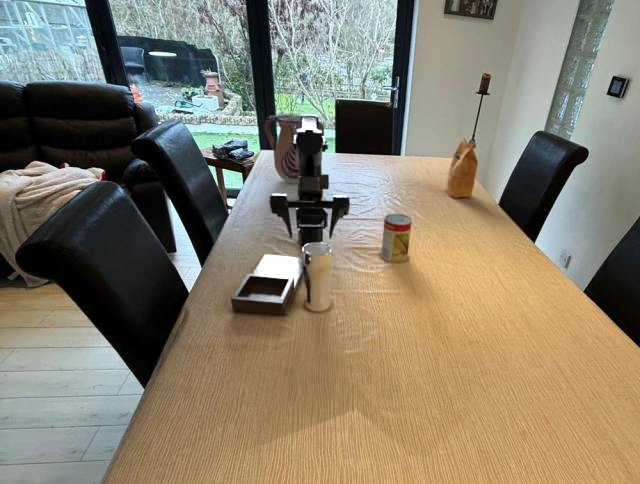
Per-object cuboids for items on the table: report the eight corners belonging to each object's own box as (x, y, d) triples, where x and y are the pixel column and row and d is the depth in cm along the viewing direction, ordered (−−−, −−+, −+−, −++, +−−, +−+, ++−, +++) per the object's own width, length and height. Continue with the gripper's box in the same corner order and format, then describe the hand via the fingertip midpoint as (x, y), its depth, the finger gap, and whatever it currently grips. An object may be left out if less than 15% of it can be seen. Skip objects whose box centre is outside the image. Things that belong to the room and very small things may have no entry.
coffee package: (463, 189, 185) (473, 137, 173) (473, 199, 175) (484, 145, 163) (442, 189, 183) (450, 136, 171) (451, 199, 173) (460, 144, 161)
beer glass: (337, 300, 102) (338, 245, 94) (324, 315, 96) (324, 258, 88) (311, 294, 104) (310, 239, 95) (297, 308, 98) (295, 251, 90)
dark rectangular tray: (265, 259, 117) (264, 246, 115) (307, 262, 117) (307, 250, 115) (231, 313, 94) (229, 298, 92) (284, 318, 94) (283, 303, 92)
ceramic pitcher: (314, 189, 169) (313, 123, 155) (262, 185, 168) (256, 118, 154) (320, 176, 183) (320, 115, 170) (272, 172, 183) (268, 111, 169)
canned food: (412, 257, 125) (417, 219, 119) (395, 265, 120) (399, 226, 114) (393, 248, 129) (397, 211, 123) (375, 255, 124) (378, 217, 118)
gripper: (267, 158, 93) (266, 223, 89) (350, 162, 96) (352, 224, 93) (272, 183, 104) (271, 242, 100) (347, 185, 107) (349, 243, 103)
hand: (310, 237), depth 99 cm, fingers open, 9 cm apart
